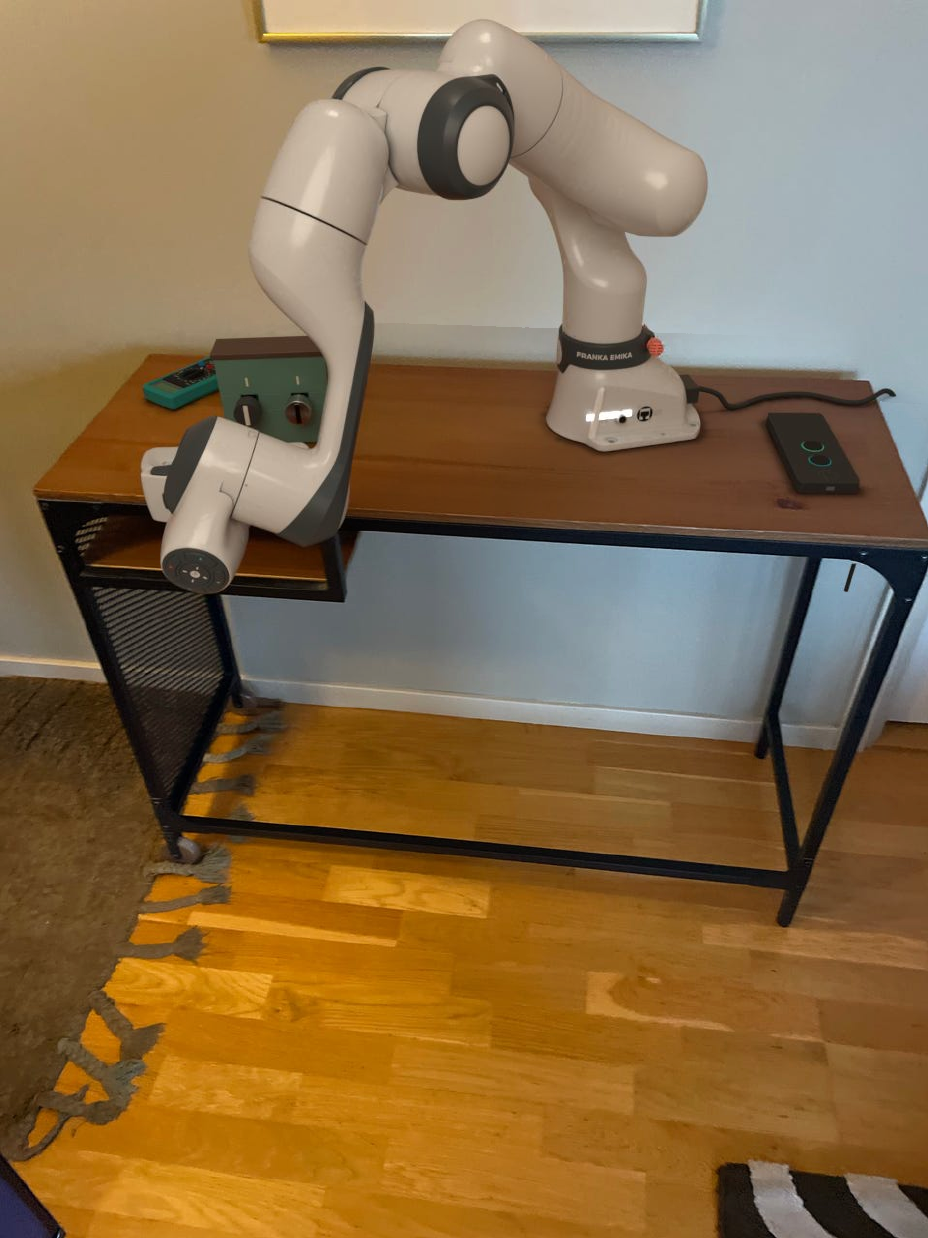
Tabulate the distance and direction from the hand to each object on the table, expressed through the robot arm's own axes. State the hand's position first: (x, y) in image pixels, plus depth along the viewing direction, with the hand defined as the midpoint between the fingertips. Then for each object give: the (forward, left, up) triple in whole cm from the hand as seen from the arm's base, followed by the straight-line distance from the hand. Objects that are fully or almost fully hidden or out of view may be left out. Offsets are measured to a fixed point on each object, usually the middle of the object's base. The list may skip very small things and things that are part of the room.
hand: (236, 438), depth 118 cm
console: (-4, -15, -7) cm, 17 cm away
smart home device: (-78, -3, -8) cm, 78 cm away
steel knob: (-7, -11, -3) cm, 13 cm away
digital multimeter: (+12, -31, -8) cm, 34 cm away
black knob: (0, -11, -3) cm, 11 cm away
